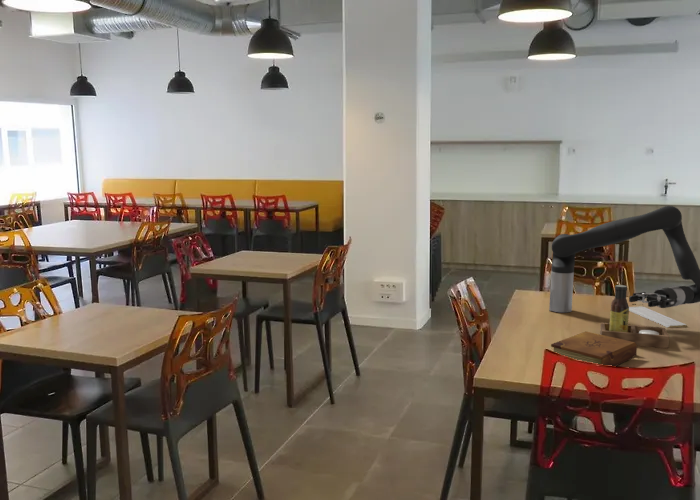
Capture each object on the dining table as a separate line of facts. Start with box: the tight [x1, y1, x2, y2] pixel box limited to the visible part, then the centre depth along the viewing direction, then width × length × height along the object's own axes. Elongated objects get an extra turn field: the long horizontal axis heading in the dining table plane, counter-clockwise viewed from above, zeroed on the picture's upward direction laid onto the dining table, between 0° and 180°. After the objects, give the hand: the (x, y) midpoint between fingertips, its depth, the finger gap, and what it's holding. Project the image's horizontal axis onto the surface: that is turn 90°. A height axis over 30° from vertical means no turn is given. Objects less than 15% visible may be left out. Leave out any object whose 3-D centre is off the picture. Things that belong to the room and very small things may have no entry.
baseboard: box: [629, 303, 688, 329], centre depth 274 cm, size 30×3×10 cm
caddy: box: [599, 322, 670, 349], centre depth 239 cm, size 22×12×5 cm, turn 71°
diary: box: [550, 331, 638, 367], centre depth 222 cm, size 23×19×6 cm
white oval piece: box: [639, 330, 659, 335], centre depth 237 cm, size 7×7×4 cm
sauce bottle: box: [609, 284, 630, 332], centre depth 240 cm, size 7×6×20 cm
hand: (639, 301), depth 243 cm, fingers open, 8 cm apart
